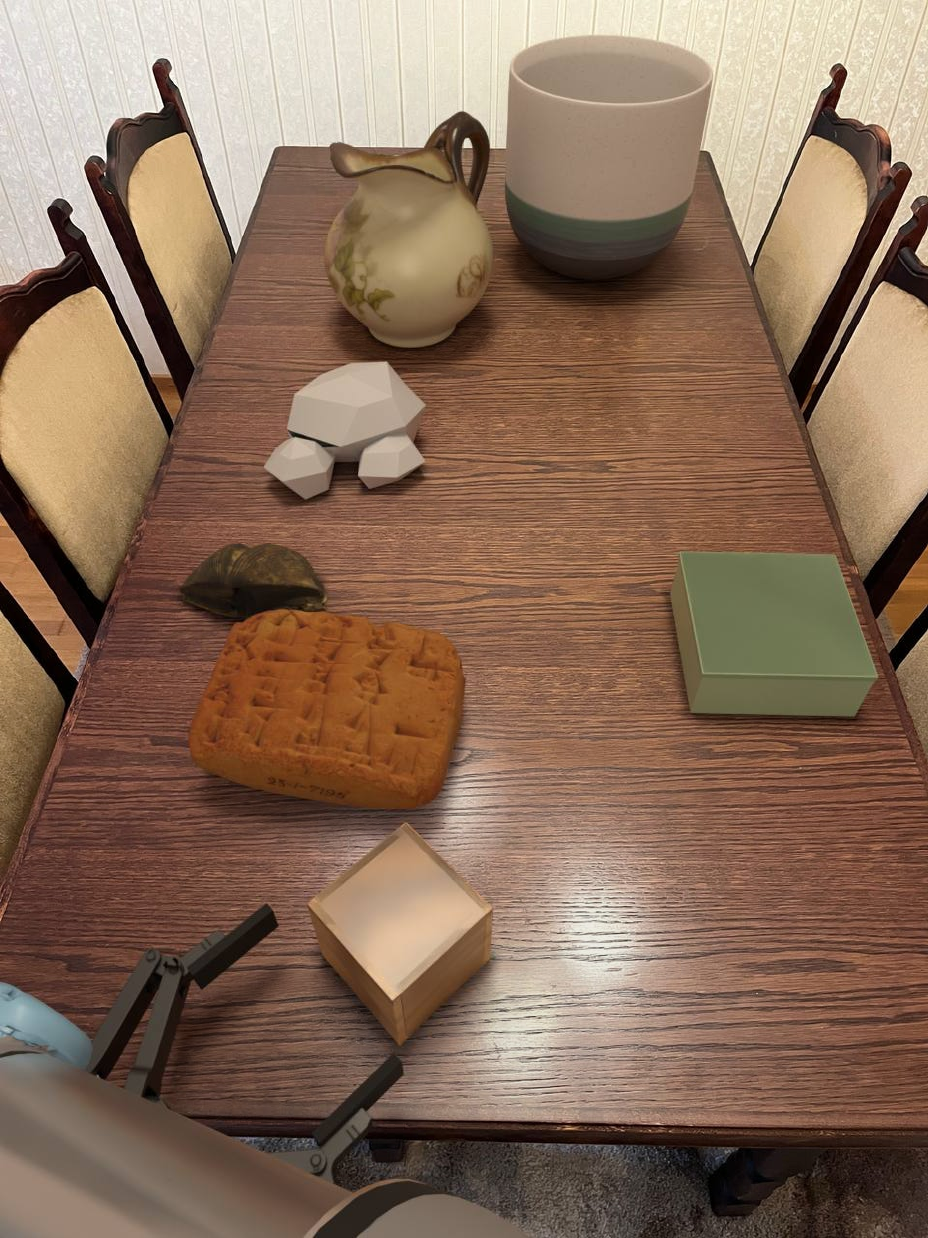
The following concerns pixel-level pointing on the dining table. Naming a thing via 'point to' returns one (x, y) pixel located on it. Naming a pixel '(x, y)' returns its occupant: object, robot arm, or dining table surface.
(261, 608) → the seashell
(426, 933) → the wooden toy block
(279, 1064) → the dining table surface
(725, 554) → the green box
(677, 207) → the planter
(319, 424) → the rock
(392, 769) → the cuneiform tablet
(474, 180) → the pitcher
